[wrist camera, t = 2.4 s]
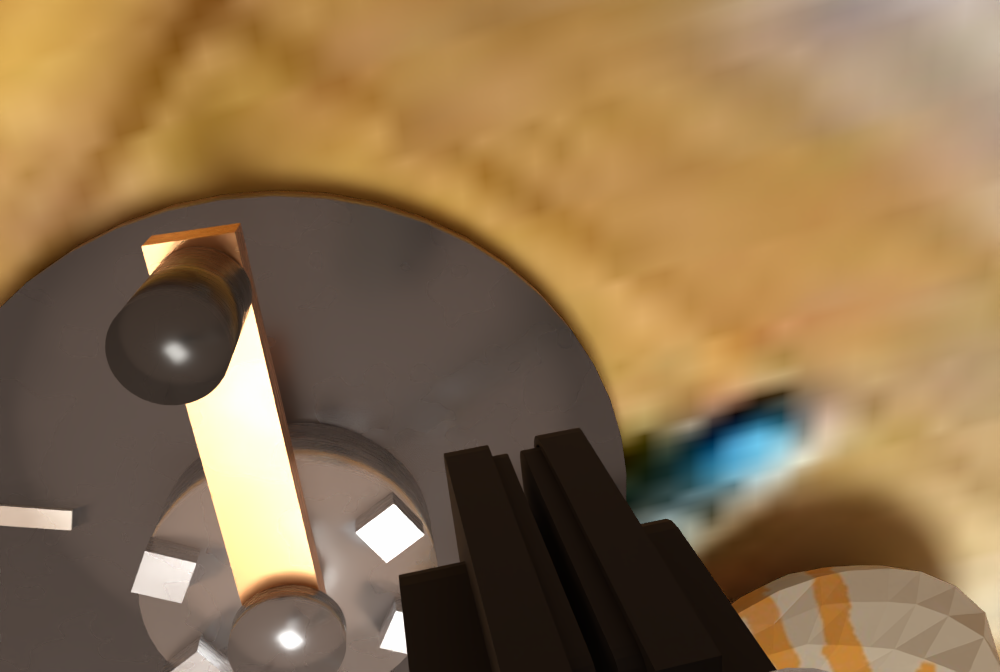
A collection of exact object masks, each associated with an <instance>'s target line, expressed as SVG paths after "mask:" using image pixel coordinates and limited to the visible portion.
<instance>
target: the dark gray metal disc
mask: <svg viewBox="0 0 1000 672" xmlns="http://www.w3.org/2000/svg"><path fill="white" fill-rule="evenodd" d="M236 223H241V227H242V232H243V236H244V240H245V244H246V249H247V253H248V257H249V262H250V266H251V270H252V275H253V279H254V283H255V288H256V292H257V296H258V301H259V305H260V309H261V314H262V318H263V322H264V326H265V331H266V335H267V339H268V344H269V348H270V352H271V357H272V361H273V365H274V370H275V374H276V378H277V383H278V387H279V391H280V395H281V400H282V404H283V408H284V413H285V417H286V421H287V423H316V424H325V425H330V426H334V427H338V428H343V429H346V430H349V431H351V432H354V433H357V434H359V435H362V436H364V437H366V438H368V439H370V440H372V441H373V442H375V443H377V444H379V445H380V446H381V447H383V448H384V449H386V450H387V451H389V452H390V453H391V454H392V455H393V456H395V457H396V458H397V459H398V460H399V461H400V462H401V463H402V464H403V465H404V466H405V467H406V469H407V470H408V471H409V472H410V473H411V475H412V476H413V478H414V479H415V481H416V483H417V484H418V486H419V487H420V489H421V492H422V494H423V496H424V499H425V501H426V504H427V508H428V512H429V516H430V522H431V528H432V534H433V540H434V546H435V552H436V559H437V566H438V567H439V566H444V565H448V564H453V563H458V562H460V560H459V554H458V547H457V541H456V534H455V528H454V522H453V515H452V509H451V502H450V496H449V490H448V483H447V477H446V470H445V464H444V453H448V452H453V451H458V450H464V449H469V448H474V447H479V446H485V445H488V446H489V448H490V451H491V454H492V456H495V455H501V454H506V453H507V454H508V455H509V458H510V460H511V462H512V465H513V467H514V470H515V472H516V475H517V477H518V479H519V482H520V484H521V487H522V489H523V481H522V472H521V464H520V451H521V450H526V449H532V448H534V438H535V436H537V435H542V434H547V433H553V432H558V431H563V430H568V429H573V428H580V429H581V430H582V431H583V433H584V434H585V436H586V438H587V439H588V441H589V442H590V444H591V446H592V447H593V449H594V450H595V452H596V454H597V455H598V457H599V458H600V460H601V462H602V463H603V465H604V466H605V468H606V470H607V471H608V473H609V474H610V476H611V478H612V479H613V481H614V483H615V484H616V486H617V487H618V489H619V491H620V492H621V494H622V495H623V497H624V499H625V500H626V469H625V461H624V454H623V447H622V440H621V435H620V431H619V428H618V425H617V421H616V418H615V414H614V411H613V408H612V404H611V401H610V398H609V396H608V394H607V392H606V390H605V388H604V385H603V383H602V381H601V379H600V377H599V375H598V373H597V370H596V368H595V366H594V364H593V363H592V361H591V359H590V358H589V356H588V355H587V353H586V352H585V350H584V349H583V347H582V346H581V344H580V343H579V341H578V340H577V338H576V337H575V335H574V334H573V332H572V331H571V329H570V328H569V327H568V325H567V324H566V322H565V321H564V320H563V319H562V318H561V316H560V315H559V314H558V313H557V312H556V311H555V310H554V309H553V307H552V306H551V305H550V304H549V303H548V302H547V301H546V299H545V298H544V297H543V296H542V295H541V294H540V293H539V292H538V290H537V289H536V288H535V287H533V286H532V285H531V284H530V283H529V282H528V281H526V280H525V279H524V278H523V277H522V276H520V275H519V274H518V273H517V272H516V271H515V270H513V269H512V268H511V267H510V266H509V265H508V264H506V263H505V262H504V261H503V260H501V259H500V258H498V257H497V256H495V255H493V254H492V253H490V252H489V251H487V250H486V249H484V248H483V247H481V246H479V245H478V244H476V243H475V242H473V241H472V240H470V239H468V238H467V237H465V236H463V235H461V234H459V233H457V232H455V231H453V230H451V229H448V228H446V227H444V226H442V225H440V224H438V223H436V222H433V221H431V220H429V219H427V218H425V217H423V216H420V215H416V214H413V213H410V212H407V211H404V210H401V209H398V208H394V207H391V206H388V205H385V204H382V203H379V202H375V201H369V200H364V199H358V198H353V197H347V196H342V195H336V194H331V193H320V192H301V191H282V190H272V191H259V192H246V193H232V194H222V195H218V196H213V197H208V198H203V199H198V200H194V201H189V202H184V203H179V204H174V205H171V206H168V207H165V208H163V209H160V210H157V211H154V212H151V213H148V214H145V215H142V216H140V217H137V218H134V219H131V220H128V221H125V222H123V223H121V224H119V225H117V226H115V227H113V228H112V229H110V230H108V231H106V232H104V233H102V234H100V235H98V236H96V237H94V238H92V239H90V240H88V241H86V242H84V243H82V244H80V245H79V246H77V247H76V248H74V249H73V250H72V251H70V252H69V253H67V254H66V255H64V256H63V257H62V258H60V259H59V260H57V261H56V262H54V263H53V264H52V265H50V266H49V267H47V268H46V269H44V270H43V271H42V272H40V273H39V274H37V275H36V276H35V277H34V278H32V279H31V280H30V281H28V282H27V283H26V284H25V285H24V286H23V287H22V288H21V289H20V290H18V291H17V292H16V293H15V294H14V295H13V296H12V297H11V298H10V299H9V300H8V301H7V302H6V303H5V304H4V305H3V306H2V307H1V308H0V672H163V669H164V666H165V663H166V662H167V660H166V659H165V658H164V657H163V656H162V655H161V653H160V652H159V651H158V649H157V648H156V646H155V645H154V643H153V641H152V640H151V638H150V636H149V634H148V632H147V629H146V627H145V625H144V622H143V619H142V614H141V610H140V606H139V594H138V593H133V592H131V590H132V587H133V585H134V582H135V579H136V576H137V573H138V570H139V567H140V564H141V561H142V559H143V556H144V553H145V550H146V548H147V545H148V543H149V540H150V537H152V535H153V533H154V530H155V528H156V525H157V523H158V520H159V518H160V515H161V513H162V510H163V507H164V505H165V503H166V501H167V498H168V496H169V494H170V492H171V490H172V489H173V487H174V486H175V484H176V482H177V481H178V479H179V478H180V477H181V476H182V474H183V473H184V472H185V471H186V470H187V468H188V467H189V466H190V465H191V464H192V463H193V462H195V461H196V460H197V459H198V458H199V457H200V454H199V450H198V447H197V443H196V439H195V436H194V432H193V429H192V425H191V422H190V418H189V414H188V411H187V407H186V404H183V405H161V404H156V403H152V402H149V401H146V400H143V399H141V398H139V397H137V396H136V395H134V394H132V393H131V392H129V391H128V390H127V389H126V388H124V387H123V386H122V385H121V383H120V382H119V381H118V380H117V379H116V377H115V376H114V375H113V373H112V371H111V369H110V367H109V364H108V362H107V358H106V353H105V340H106V335H107V332H108V329H109V326H110V324H111V323H112V321H113V319H114V318H115V317H116V316H117V314H118V313H119V312H120V311H121V310H122V308H123V307H124V306H125V305H126V304H127V302H128V301H129V300H130V299H131V298H132V296H133V295H134V294H135V293H136V292H137V290H138V289H139V288H140V287H141V286H142V284H143V283H144V282H145V281H146V280H147V278H148V277H149V276H150V275H149V272H148V268H147V264H146V261H145V257H144V254H143V250H142V245H143V244H144V243H145V242H146V241H147V240H148V239H149V238H150V237H151V236H153V235H160V234H167V233H174V232H181V231H188V230H195V229H201V228H208V227H215V226H222V225H229V224H236ZM523 492H524V489H523ZM390 672H409V665H408V656H406V657H405V658H404V659H403V660H402V662H401V663H400V664H398V665H397V666H396V667H395V668H394V669H392V670H391V671H390Z"/></svg>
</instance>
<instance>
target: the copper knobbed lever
mask: <svg viewBox="0 0 1000 672" xmlns="http://www.w3.org/2000/svg"><path fill="white" fill-rule="evenodd" d="M142 250H143V254H144V257H145V261H146V264H147V268H148V272H149V275H150V276H149V277H148V278H147V280H146V281H145V282H144V283H143V284H142V286H141V287H140V288H139V289H138V290H137V292H136V293H135V294H134V295H133V296H132V298H131V299H130V300H129V301H128V302H127V304H126V305H125V306H124V307H123V308H122V310H121V311H120V312H119V313H118V314H117V316H116V317H115V318H114V319H113V321H112V323H111V324H110V326H109V329H108V332H107V335H106V340H105V353H106V358H107V362H108V364H109V367H110V369H111V371H112V373H113V375H114V376H115V377H116V379H117V380H118V381H119V382H120V383H121V385H122V386H123V387H124V388H126V389H127V390H128V391H129V392H131V393H132V394H134V395H136V396H137V397H139V398H141V399H143V400H146V401H149V402H152V403H156V404H161V405H183V404H186V407H187V411H188V414H189V418H190V422H191V425H192V429H193V432H194V436H195V439H196V443H197V447H198V450H199V454H200V457H199V458H198V459H197V460H196V461H195V462H193V463H192V464H191V465H190V466H189V467H188V468H187V470H186V471H185V472H184V473H183V474H182V476H181V477H180V478H179V479H178V481H177V482H176V484H175V486H174V487H173V489H172V490H171V492H170V494H169V496H168V498H167V501H166V503H165V505H164V507H163V510H162V513H161V515H160V518H159V520H158V523H157V525H156V528H155V530H154V533H153V535H152V537H150V540H149V543H148V545H147V548H146V550H145V553H144V556H143V559H142V561H141V564H140V567H139V570H138V573H137V576H136V579H135V582H134V585H133V587H132V590H131V592H133V593H138V594H139V606H140V610H141V614H142V619H143V622H144V625H145V627H146V629H147V632H148V634H149V636H150V638H151V640H152V641H153V643H154V645H155V646H156V648H157V649H158V651H159V652H160V653H161V655H162V656H163V657H164V658H165V659H166V660H167V662H166V663H165V666H164V669H163V672H390V671H391V670H392V669H394V668H395V667H396V666H397V665H398V664H400V663H401V662H402V660H403V659H404V658H405V657H406V656H407V648H406V639H405V630H404V621H403V612H402V604H401V595H400V586H399V575H401V574H406V573H410V572H415V571H420V570H425V569H429V568H434V567H438V566H437V559H436V552H435V546H434V540H433V534H432V528H431V522H430V516H429V512H428V508H427V504H426V501H425V499H424V496H423V494H422V492H421V489H420V487H419V486H418V484H417V483H416V481H415V479H414V478H413V476H412V475H411V473H410V472H409V471H408V470H407V469H406V467H405V466H404V465H403V464H402V463H401V462H400V461H399V460H398V459H397V458H396V457H395V456H393V455H392V454H391V453H390V452H389V451H387V450H386V449H384V448H383V447H381V446H380V445H379V444H377V443H375V442H373V441H372V440H370V439H368V438H366V437H364V436H362V435H359V434H357V433H354V432H351V431H349V430H346V429H343V428H338V427H334V426H330V425H325V424H316V423H287V421H286V417H285V413H284V408H283V404H282V400H281V395H280V391H279V387H278V383H277V378H276V374H275V370H274V365H273V361H272V357H271V352H270V348H269V344H268V339H267V335H266V331H265V326H264V322H263V318H262V314H261V309H260V305H259V301H258V296H257V292H256V288H255V283H254V279H253V275H252V270H251V266H250V262H249V257H248V253H247V249H246V244H245V240H244V236H243V232H242V227H241V223H236V224H229V225H222V226H215V227H208V228H201V229H195V230H188V231H181V232H174V233H167V234H160V235H153V236H151V237H150V238H149V239H148V240H147V241H146V242H145V243H144V244H143V245H142Z"/></svg>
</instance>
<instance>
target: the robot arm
mask: <svg viewBox="0 0 1000 672" xmlns="http://www.w3.org/2000/svg"><path fill="white" fill-rule="evenodd" d="M444 464H445V470H446V477H447V483H448V490H449V496H450V502H451V509H452V515H453V522H454V528H455V534H456V541H457V547H458V554H459V560H460V562H458V563H453V564H448V565H444V566H439V567H434V568H429V569H425V570H420V571H415V572H410V573H406V574H401V575H399V586H400V595H401V604H402V612H403V621H404V630H405V639H406V648H407V656H408V665H409V672H829V671H824V670H820V669H815V668H784V669H780V670H777V669H776V668H775V666H774V665H773V664H772V662H771V661H770V659H769V658H768V656H767V655H766V653H765V652H764V651H763V649H762V648H761V646H760V645H759V643H758V642H757V641H756V639H755V638H754V636H753V635H752V633H751V632H750V630H749V629H748V628H747V626H746V625H745V623H744V622H743V620H742V619H741V618H740V616H739V615H738V613H737V612H736V610H735V609H734V607H733V606H732V605H731V603H730V602H729V600H728V599H727V597H726V596H725V595H724V593H723V592H722V590H721V589H720V587H719V586H718V584H717V583H716V582H715V580H714V579H713V577H712V576H711V574H710V573H709V572H708V570H707V569H706V567H705V566H704V564H703V563H702V561H701V560H700V559H699V557H698V556H697V554H696V553H695V551H694V550H693V548H692V547H691V546H690V544H689V543H688V541H687V540H686V538H685V537H684V536H683V534H682V533H681V531H680V530H679V528H678V527H677V526H676V525H675V524H674V523H673V522H672V521H671V520H668V519H663V520H658V521H653V522H649V523H644V524H640V523H639V521H638V519H637V518H636V516H635V515H634V513H633V511H632V510H631V508H630V507H629V505H628V503H627V502H626V500H625V499H624V497H623V495H622V494H621V492H620V491H619V489H618V487H617V486H616V484H615V483H614V481H613V479H612V478H611V476H610V474H609V473H608V471H607V470H606V468H605V466H604V465H603V463H602V462H601V460H600V458H599V457H598V455H597V454H596V452H595V450H594V449H593V447H592V446H591V444H590V442H589V441H588V439H587V438H586V436H585V434H584V433H583V431H582V430H581V429H580V428H573V429H568V430H563V431H558V432H553V433H547V434H542V435H537V436H535V438H534V448H532V449H526V450H521V451H520V464H521V472H522V481H523V489H524V492H523V489H522V487H521V484H520V482H519V479H518V477H517V475H516V472H515V470H514V467H513V465H512V462H511V460H510V458H509V455H508V454H507V453H506V454H501V455H495V456H492V454H491V451H490V448H489V446H488V445H485V446H479V447H474V448H469V449H464V450H458V451H453V452H448V453H444Z"/></svg>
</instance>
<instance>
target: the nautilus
mask: <svg viewBox="0 0 1000 672" xmlns="http://www.w3.org/2000/svg"><path fill="white" fill-rule="evenodd" d="M731 605H732V606H733V607H734V609H735V610H736V612H737V613H738V615H739V616H740V618H741V619H742V620H743V622H744V623H745V625H746V626H747V628H748V629H749V630H750V632H751V633H752V635H753V636H754V638H755V639H756V641H757V642H758V643H759V645H760V646H761V648H762V649H763V651H764V652H765V653H766V655H767V656H768V658H769V659H770V661H771V662H772V664H773V665H774V666H775V668H776V669H777V670H780V669H784V668H815V669H820V670H824V671H829V672H1000V661H999V657H998V653H997V650H996V647H995V643H994V640H993V637H992V634H991V630H990V627H989V624H988V620H987V617H986V614H985V612H984V611H983V610H982V609H980V608H979V607H978V606H977V605H976V604H975V603H974V602H973V601H972V600H971V599H969V598H968V597H967V596H966V595H965V594H964V593H963V592H962V591H961V590H960V589H959V588H957V587H956V586H954V585H952V584H949V583H947V582H945V581H942V580H940V579H937V578H935V577H933V576H930V575H928V574H926V573H923V572H921V571H914V570H908V569H902V568H895V567H889V566H883V565H853V566H839V567H825V568H819V569H814V570H809V571H803V572H798V573H792V574H788V575H786V576H783V577H781V578H779V579H777V580H775V581H772V582H770V583H768V584H766V585H764V586H762V587H760V588H758V589H756V590H754V591H752V592H750V593H748V594H747V595H745V596H743V597H741V598H739V599H738V600H736V601H735V602H734V603H732V604H731Z"/></svg>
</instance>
